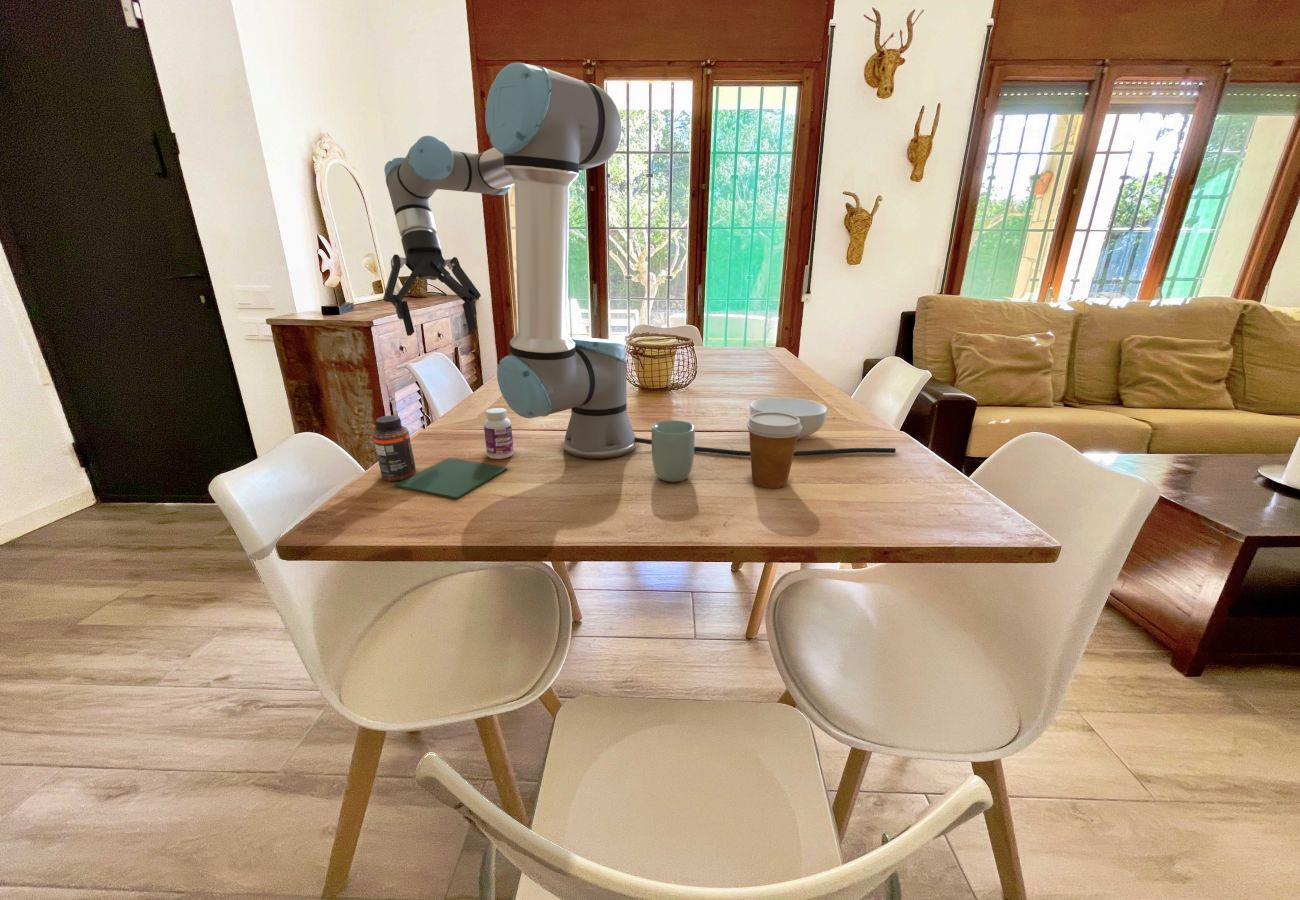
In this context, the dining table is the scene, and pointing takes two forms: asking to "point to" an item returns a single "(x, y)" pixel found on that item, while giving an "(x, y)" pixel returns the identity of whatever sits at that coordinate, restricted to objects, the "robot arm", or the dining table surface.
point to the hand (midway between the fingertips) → (443, 332)
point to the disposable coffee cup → (772, 447)
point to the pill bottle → (498, 434)
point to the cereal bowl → (794, 411)
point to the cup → (673, 449)
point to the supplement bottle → (393, 449)
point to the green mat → (451, 478)
